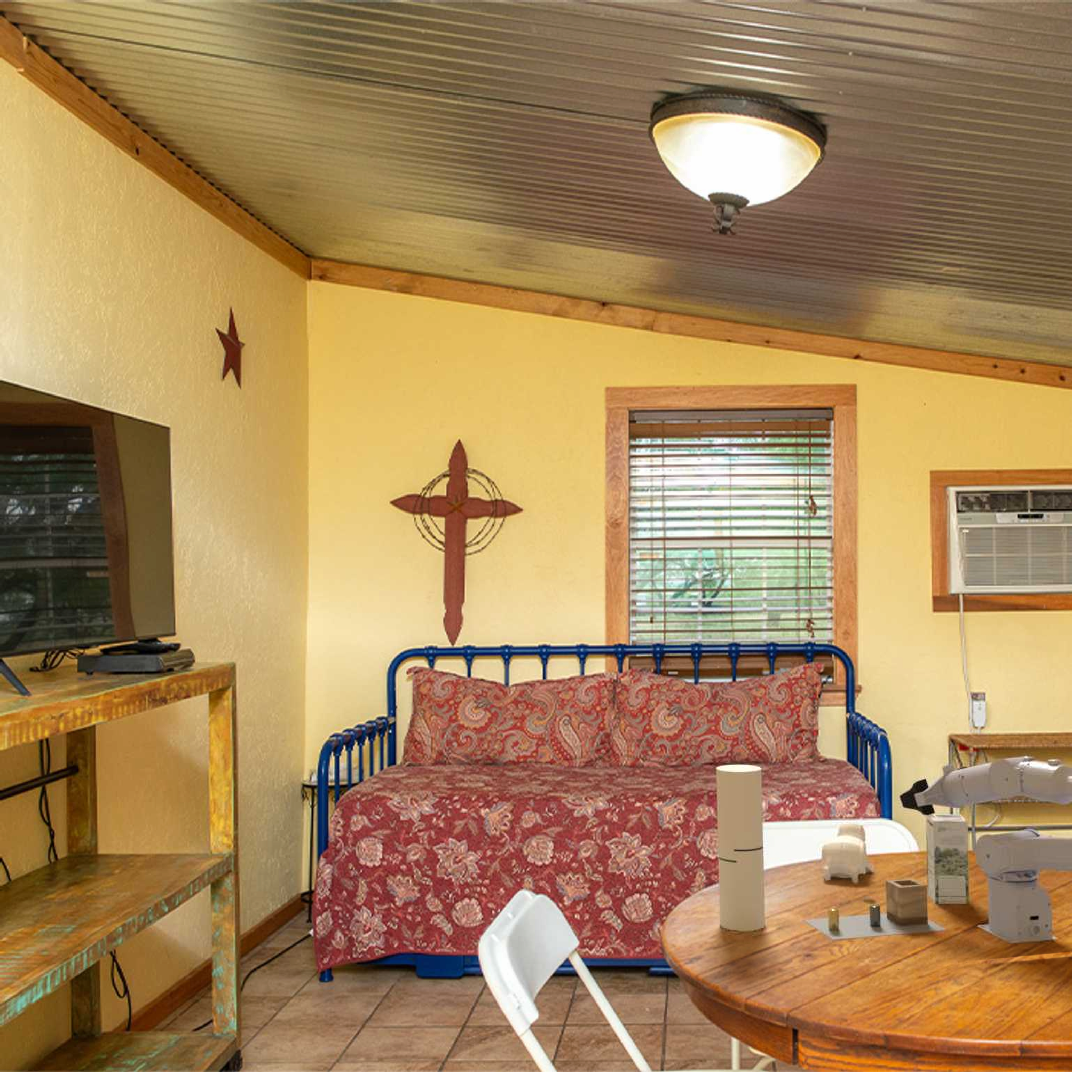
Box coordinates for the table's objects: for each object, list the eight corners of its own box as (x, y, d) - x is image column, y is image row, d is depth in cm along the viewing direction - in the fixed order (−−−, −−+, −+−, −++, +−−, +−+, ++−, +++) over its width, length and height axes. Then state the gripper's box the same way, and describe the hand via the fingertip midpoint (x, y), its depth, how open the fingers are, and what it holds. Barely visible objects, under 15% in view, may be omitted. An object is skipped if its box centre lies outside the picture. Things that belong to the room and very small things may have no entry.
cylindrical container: (764, 932, 193) (760, 772, 194) (718, 930, 195) (715, 771, 195) (765, 919, 200) (761, 764, 201) (721, 917, 202) (717, 764, 202)
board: (947, 933, 190) (947, 929, 190) (833, 943, 187) (833, 939, 187) (911, 914, 201) (911, 911, 201) (803, 923, 197) (803, 919, 197)
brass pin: (841, 934, 191) (840, 910, 192) (831, 934, 191) (830, 911, 191) (836, 931, 193) (835, 908, 193) (827, 932, 193) (826, 908, 193)
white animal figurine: (867, 899, 223) (879, 851, 235) (862, 859, 220) (875, 813, 233) (819, 895, 226) (833, 848, 239) (814, 855, 223) (829, 810, 236)
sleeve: (927, 923, 194) (926, 885, 194) (901, 926, 193) (899, 887, 193) (913, 916, 198) (912, 878, 199) (886, 918, 197) (885, 880, 198)
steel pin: (882, 930, 193) (881, 907, 193) (873, 931, 192) (872, 908, 193) (877, 927, 194) (877, 904, 194) (868, 928, 194) (867, 905, 194)
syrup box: (961, 898, 211) (959, 812, 211) (970, 907, 205) (967, 819, 205) (927, 897, 211) (925, 812, 212) (935, 907, 205) (932, 819, 206)
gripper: (999, 750, 201) (943, 763, 213) (933, 770, 194) (879, 782, 206) (1014, 793, 199) (957, 803, 211) (948, 814, 193) (893, 824, 205)
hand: (920, 796), depth 208 cm, fingers open, 7 cm apart
